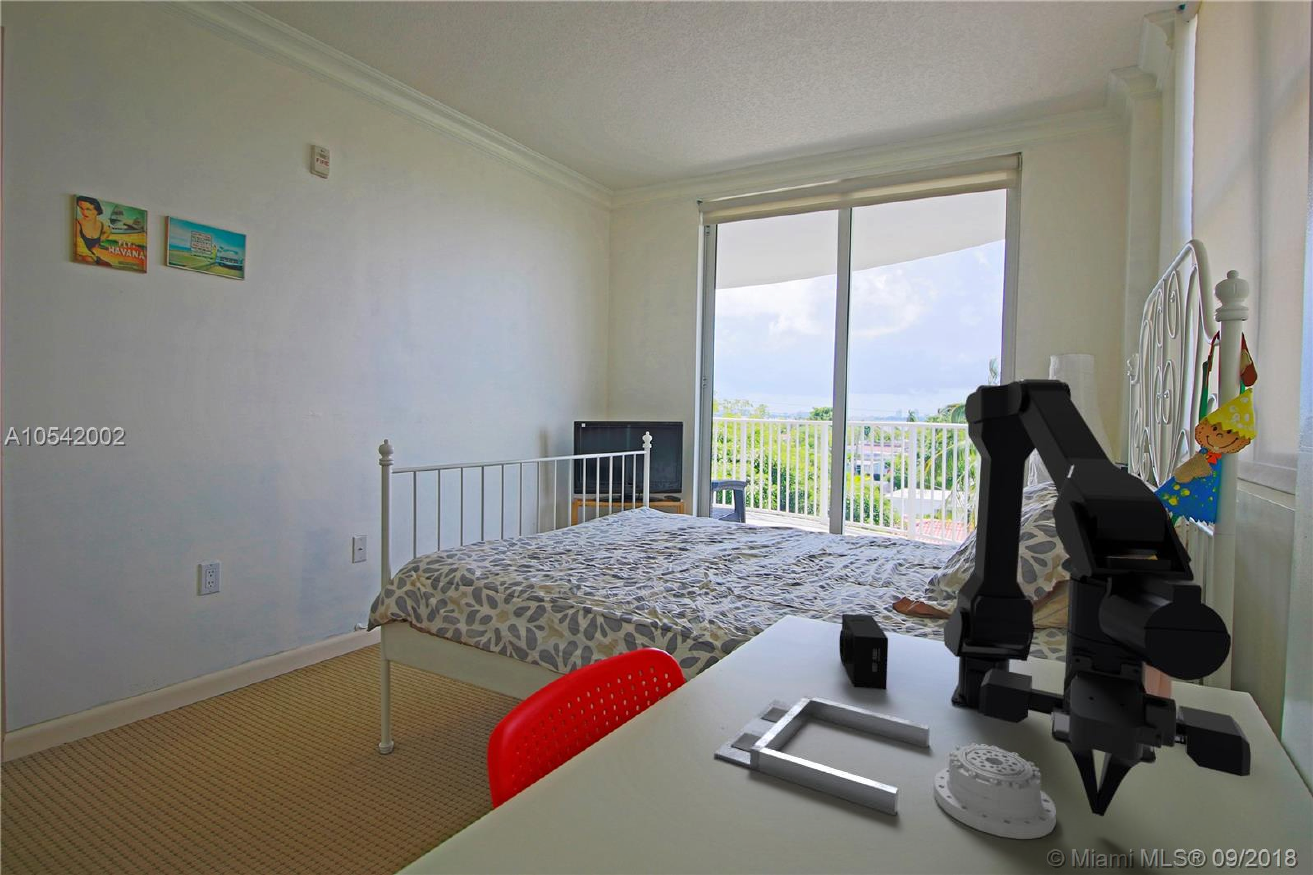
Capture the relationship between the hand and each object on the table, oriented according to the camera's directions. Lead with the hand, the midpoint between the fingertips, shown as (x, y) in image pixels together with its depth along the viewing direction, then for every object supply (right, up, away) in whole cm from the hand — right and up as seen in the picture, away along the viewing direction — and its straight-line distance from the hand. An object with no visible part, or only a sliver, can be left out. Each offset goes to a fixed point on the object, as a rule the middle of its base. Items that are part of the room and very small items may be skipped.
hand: (1097, 812), depth 58 cm
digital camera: (-10, -1, +35) cm, 37 cm away
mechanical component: (-7, -2, +3) cm, 8 cm away
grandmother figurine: (+22, -2, +24) cm, 33 cm away
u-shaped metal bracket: (-20, -1, +13) cm, 24 cm away
